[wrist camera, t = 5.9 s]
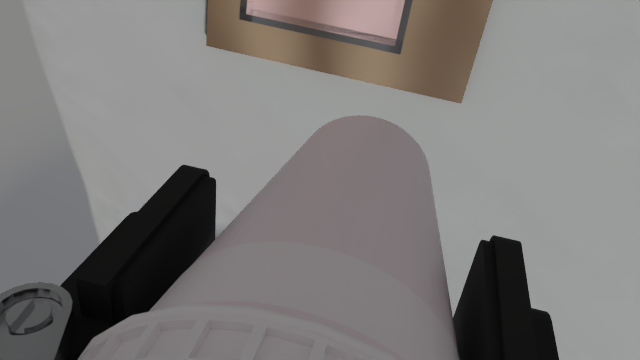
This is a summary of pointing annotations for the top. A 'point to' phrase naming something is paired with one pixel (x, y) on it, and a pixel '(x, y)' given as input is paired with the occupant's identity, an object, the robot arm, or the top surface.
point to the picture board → (360, 38)
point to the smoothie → (313, 265)
